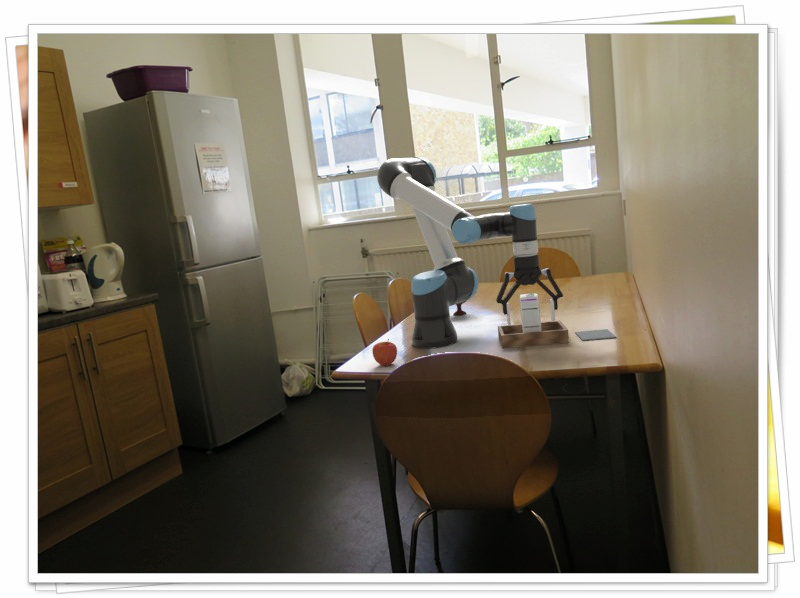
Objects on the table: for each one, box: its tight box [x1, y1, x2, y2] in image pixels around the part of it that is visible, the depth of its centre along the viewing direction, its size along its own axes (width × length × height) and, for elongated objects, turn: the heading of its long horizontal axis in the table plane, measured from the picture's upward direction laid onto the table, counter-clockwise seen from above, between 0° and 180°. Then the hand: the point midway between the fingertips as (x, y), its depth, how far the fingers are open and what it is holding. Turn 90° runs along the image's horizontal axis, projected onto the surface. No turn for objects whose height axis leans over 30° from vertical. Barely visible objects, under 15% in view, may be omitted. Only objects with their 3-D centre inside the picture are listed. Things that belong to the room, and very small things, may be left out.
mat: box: [574, 328, 617, 342], centre depth 176 cm, size 10×10×1 cm
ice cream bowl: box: [452, 301, 467, 317], centre depth 229 cm, size 11×11×15 cm
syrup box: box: [519, 292, 542, 333], centre depth 178 cm, size 6×6×14 cm
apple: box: [371, 338, 398, 367], centre depth 169 cm, size 7×7×8 cm
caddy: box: [497, 320, 570, 349], centre depth 179 cm, size 20×13×4 cm, turn 85°
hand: (531, 322), depth 178 cm, fingers open, 13 cm apart
